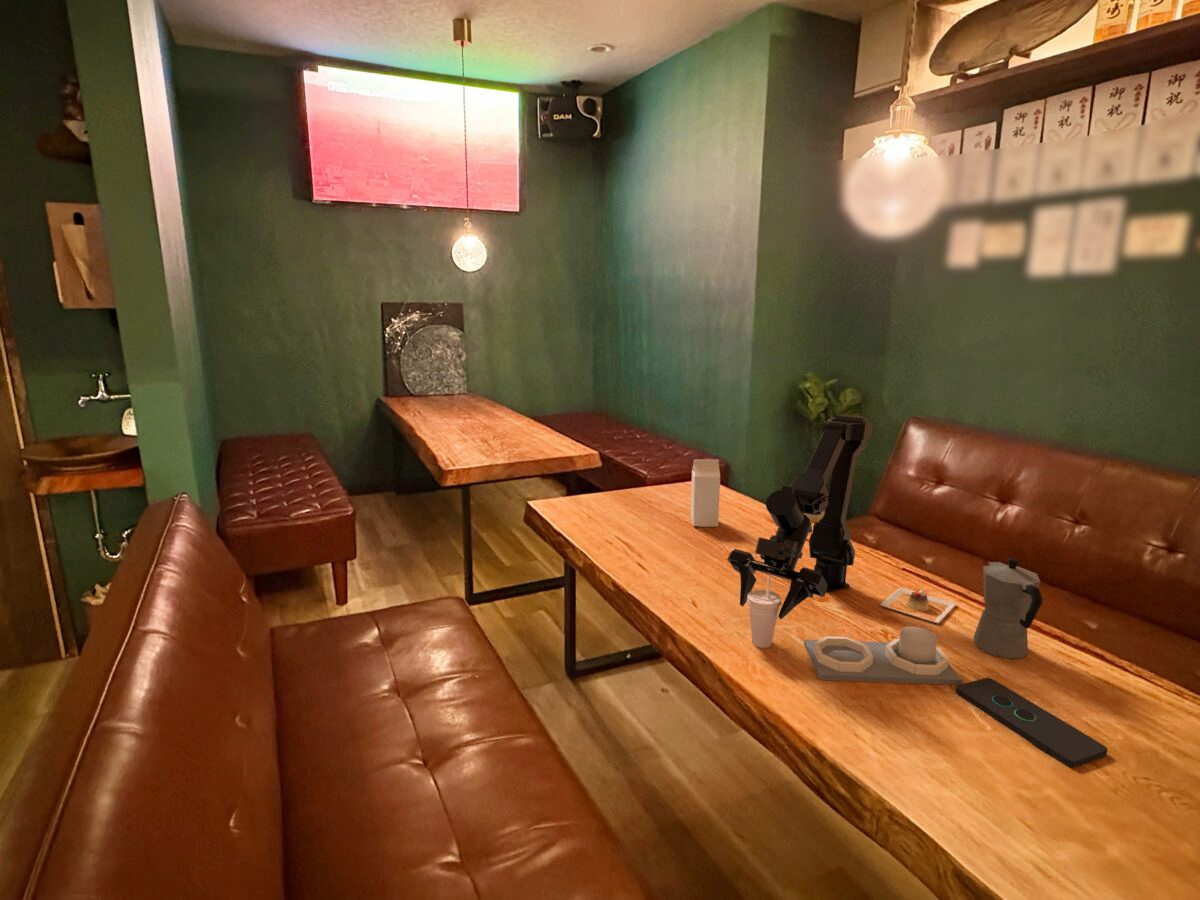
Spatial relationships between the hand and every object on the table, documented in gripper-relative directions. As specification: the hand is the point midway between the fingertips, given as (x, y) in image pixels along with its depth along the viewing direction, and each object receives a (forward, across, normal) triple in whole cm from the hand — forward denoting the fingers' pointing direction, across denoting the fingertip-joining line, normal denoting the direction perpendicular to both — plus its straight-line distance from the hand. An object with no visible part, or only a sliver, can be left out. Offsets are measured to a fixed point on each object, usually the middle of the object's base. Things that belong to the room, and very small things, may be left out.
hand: (760, 611), depth 127 cm
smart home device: (+1, +43, +10) cm, 44 cm away
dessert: (-20, +19, +32) cm, 42 cm away
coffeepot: (-15, +36, +25) cm, 47 cm away
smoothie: (+4, 0, +6) cm, 7 cm away
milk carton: (-32, -44, +42) cm, 69 cm away
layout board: (-1, +20, +11) cm, 23 cm away
